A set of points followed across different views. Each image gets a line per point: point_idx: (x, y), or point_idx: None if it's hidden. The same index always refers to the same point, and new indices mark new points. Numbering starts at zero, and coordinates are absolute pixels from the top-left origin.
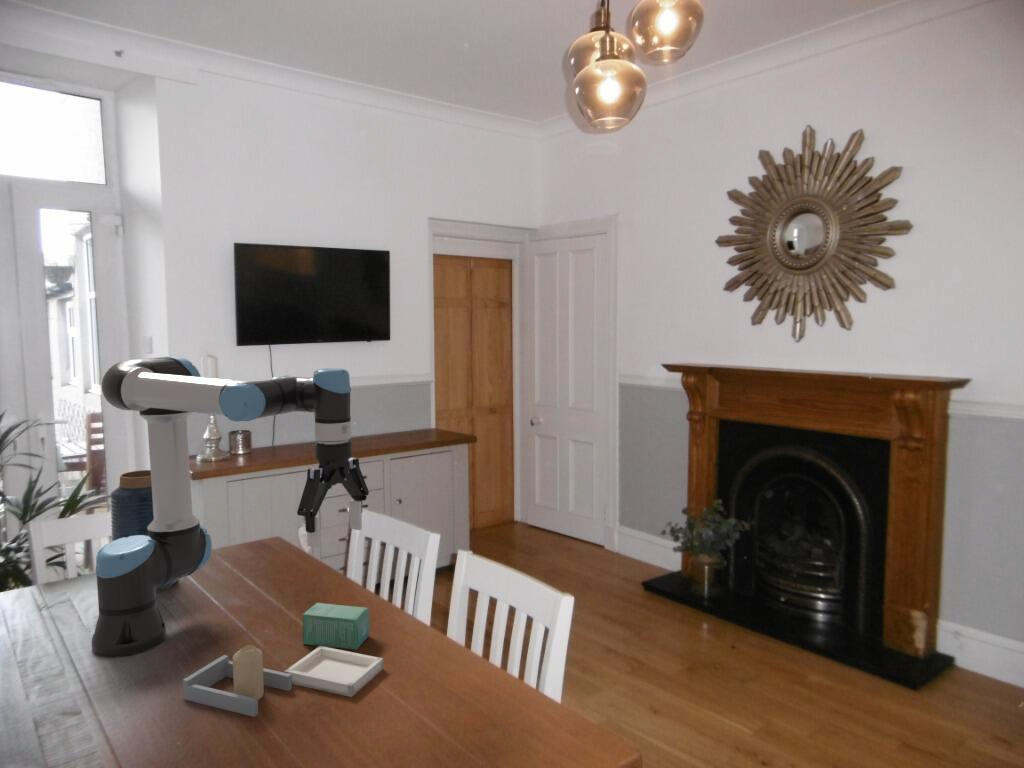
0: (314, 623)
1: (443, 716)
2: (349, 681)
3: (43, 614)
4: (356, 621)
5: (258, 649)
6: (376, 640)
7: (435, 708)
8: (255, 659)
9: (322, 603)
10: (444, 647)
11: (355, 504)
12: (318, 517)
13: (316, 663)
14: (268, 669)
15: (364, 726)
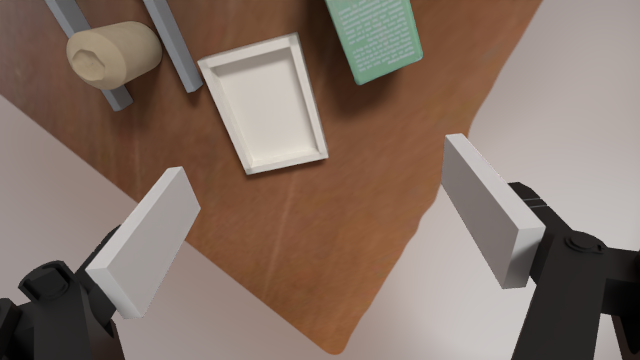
0: None
1: (291, 257)
2: (268, 143)
3: None
4: (358, 84)
5: (114, 74)
6: (399, 71)
7: (297, 245)
8: (105, 89)
9: None
10: (427, 174)
11: (496, 252)
12: (139, 313)
13: (269, 58)
14: (171, 42)
15: (223, 215)
